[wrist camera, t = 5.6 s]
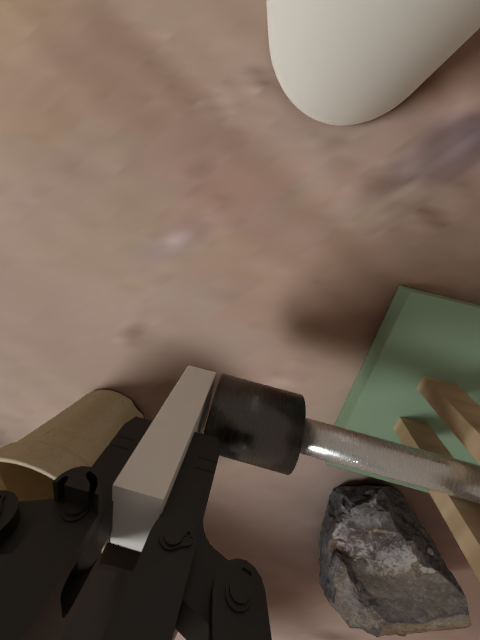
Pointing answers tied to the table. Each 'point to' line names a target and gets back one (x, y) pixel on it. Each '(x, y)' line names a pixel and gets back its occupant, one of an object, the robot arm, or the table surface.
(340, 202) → the table surface
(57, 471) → the flower pot
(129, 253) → the table surface
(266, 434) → the rod
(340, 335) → the table surface
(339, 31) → the beverage can
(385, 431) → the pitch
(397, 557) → the rock
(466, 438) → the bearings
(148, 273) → the table surface
